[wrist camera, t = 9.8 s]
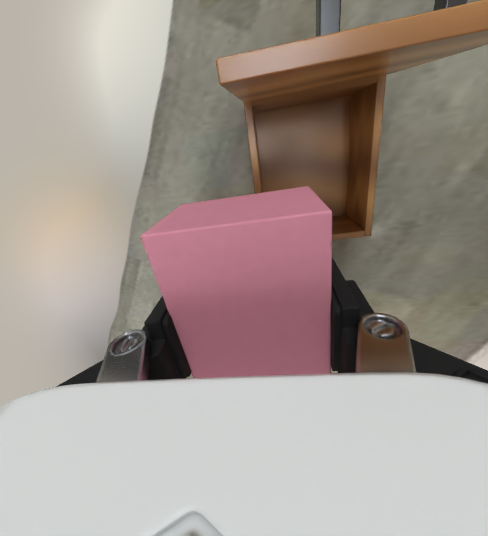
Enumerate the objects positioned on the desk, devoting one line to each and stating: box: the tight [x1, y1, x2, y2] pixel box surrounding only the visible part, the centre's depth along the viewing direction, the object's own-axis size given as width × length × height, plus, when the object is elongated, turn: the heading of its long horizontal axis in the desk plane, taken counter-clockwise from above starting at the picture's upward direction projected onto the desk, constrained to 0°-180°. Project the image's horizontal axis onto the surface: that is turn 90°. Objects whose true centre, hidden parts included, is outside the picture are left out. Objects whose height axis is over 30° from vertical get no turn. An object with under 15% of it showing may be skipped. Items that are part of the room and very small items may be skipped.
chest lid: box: [216, 0, 488, 102], centre depth 12 cm, size 15×12×5 cm
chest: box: [244, 75, 386, 240], centre depth 27 cm, size 14×12×7 cm
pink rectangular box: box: [141, 186, 332, 378], centre depth 11 cm, size 9×6×4 cm, turn 9°
